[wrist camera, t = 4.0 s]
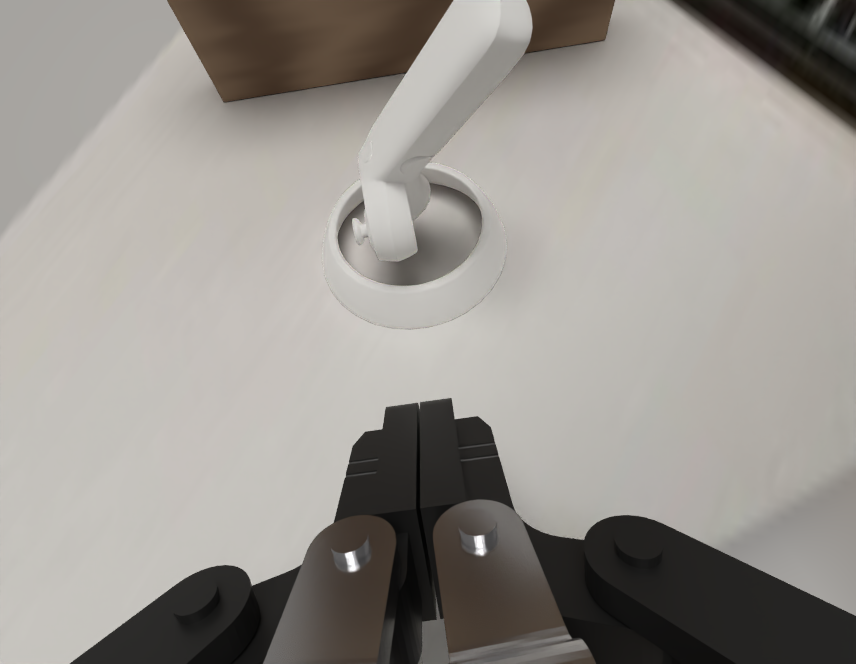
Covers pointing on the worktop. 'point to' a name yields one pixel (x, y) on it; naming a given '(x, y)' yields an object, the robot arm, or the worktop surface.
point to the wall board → (344, 38)
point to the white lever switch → (428, 168)
